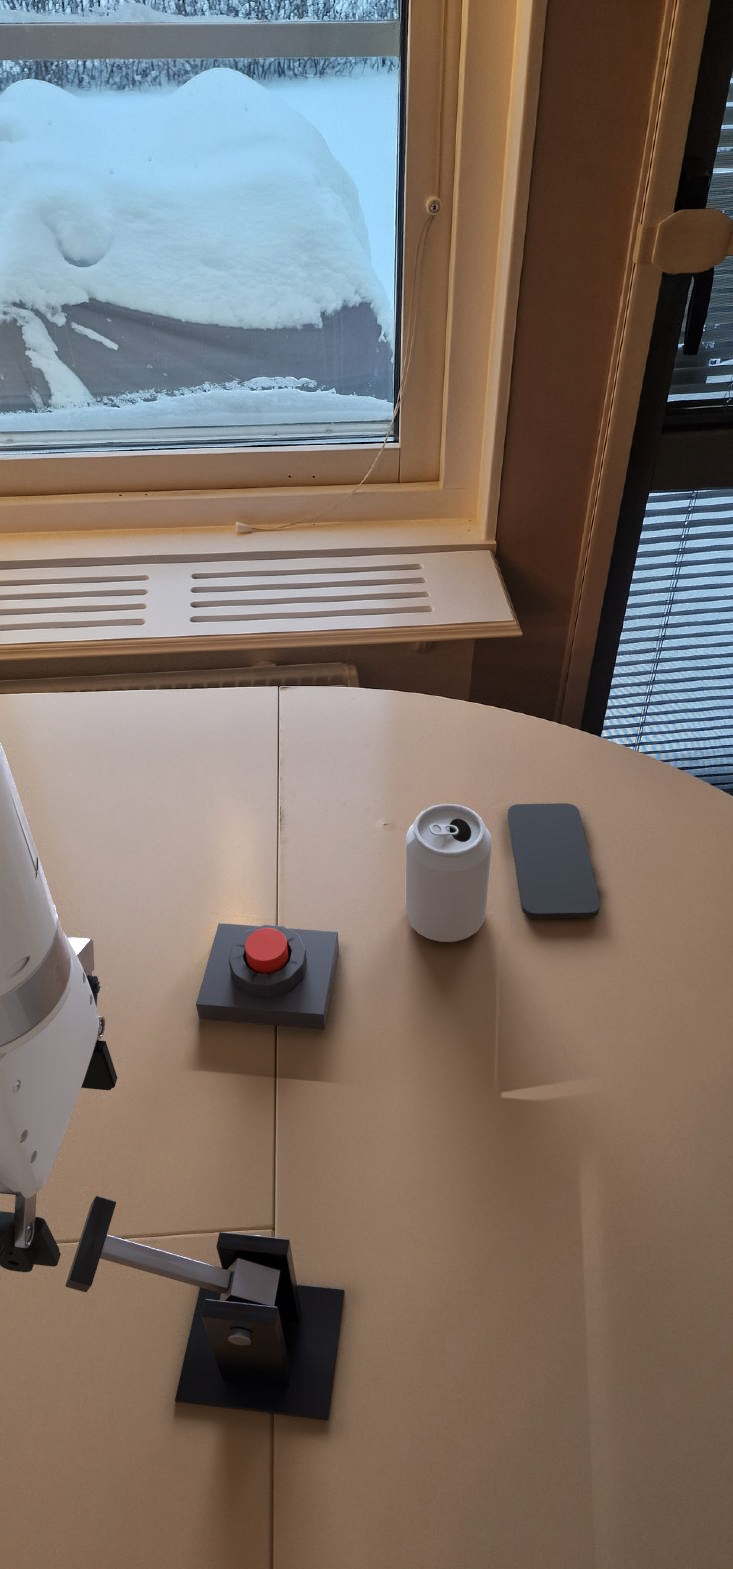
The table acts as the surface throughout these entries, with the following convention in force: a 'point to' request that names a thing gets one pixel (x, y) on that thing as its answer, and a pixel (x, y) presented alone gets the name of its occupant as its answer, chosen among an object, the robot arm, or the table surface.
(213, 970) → the button block
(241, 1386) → the bracket
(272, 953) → the button
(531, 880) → the phone
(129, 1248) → the lever
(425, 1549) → the table surface
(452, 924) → the can
